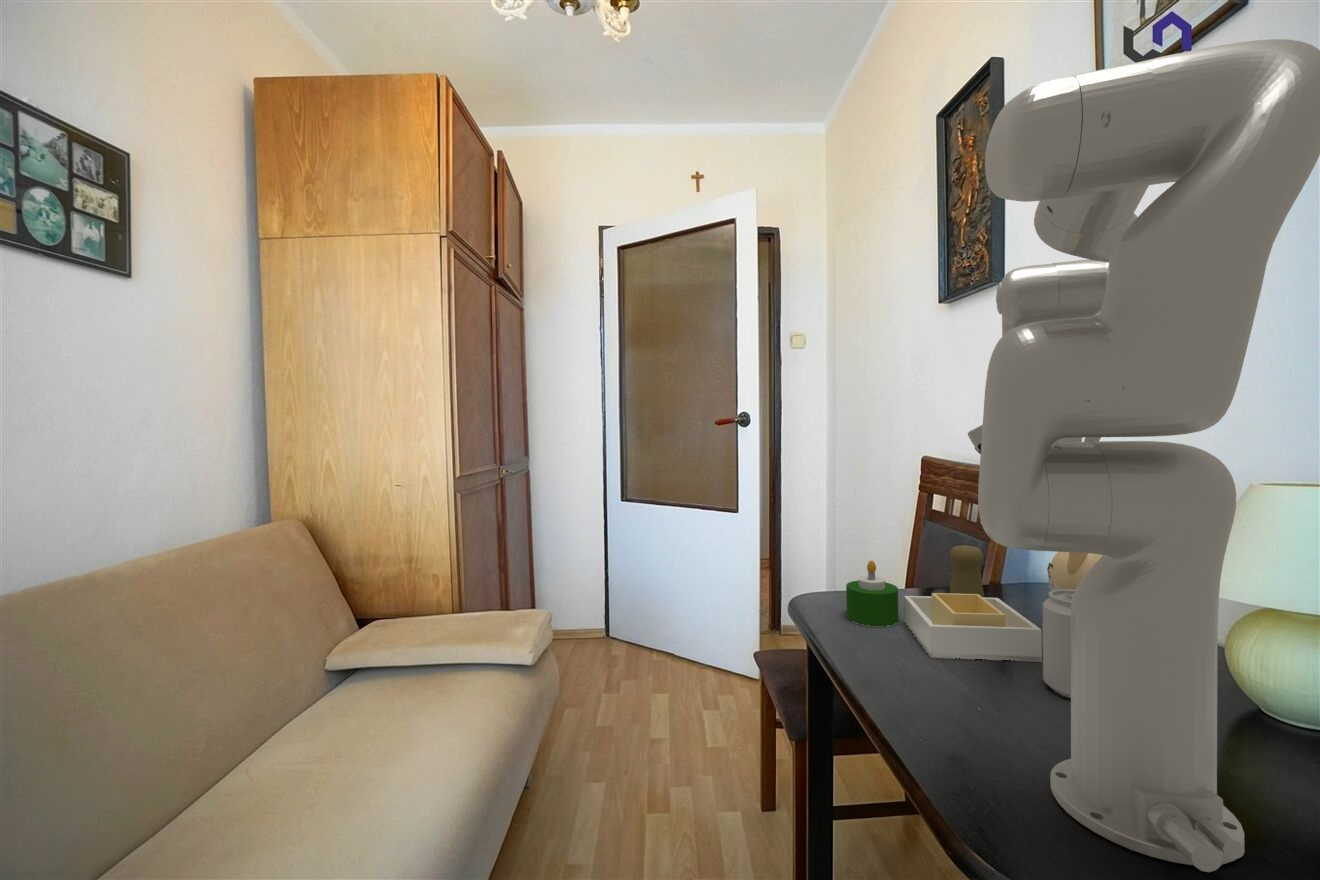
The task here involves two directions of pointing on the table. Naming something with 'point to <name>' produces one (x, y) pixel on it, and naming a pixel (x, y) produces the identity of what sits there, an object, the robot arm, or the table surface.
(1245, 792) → the table surface
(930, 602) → the large crate
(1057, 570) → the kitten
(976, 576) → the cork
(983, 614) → the small crate
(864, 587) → the candle
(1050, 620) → the can
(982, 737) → the table surface
